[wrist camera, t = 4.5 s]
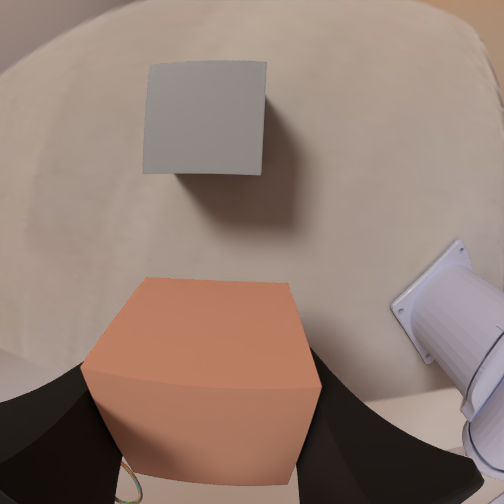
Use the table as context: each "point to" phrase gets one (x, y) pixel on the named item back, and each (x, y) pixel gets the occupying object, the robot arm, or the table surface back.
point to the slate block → (205, 117)
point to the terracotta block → (206, 381)
